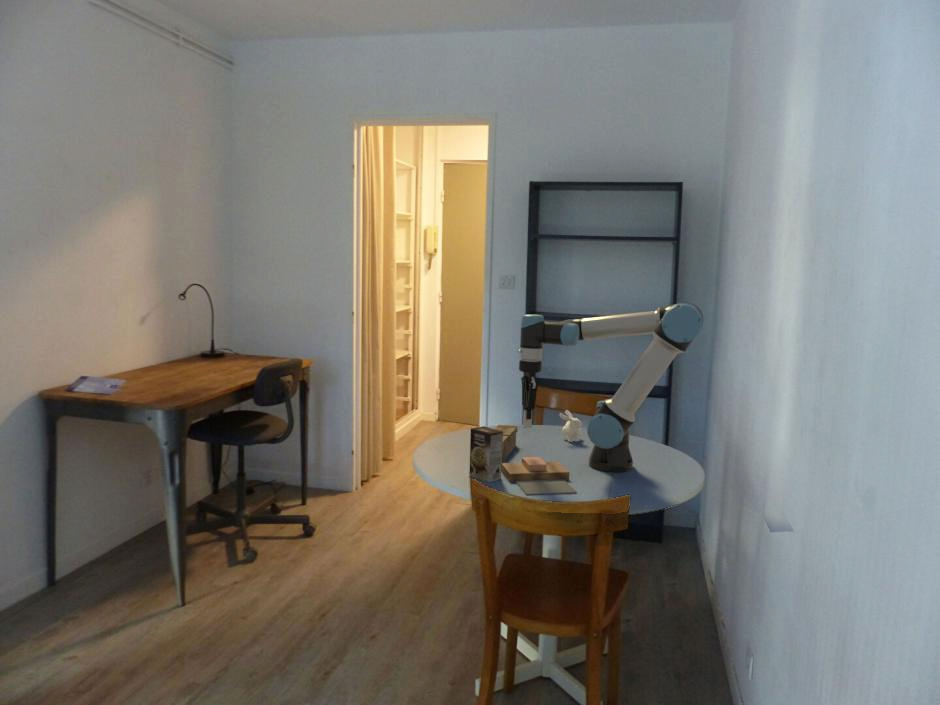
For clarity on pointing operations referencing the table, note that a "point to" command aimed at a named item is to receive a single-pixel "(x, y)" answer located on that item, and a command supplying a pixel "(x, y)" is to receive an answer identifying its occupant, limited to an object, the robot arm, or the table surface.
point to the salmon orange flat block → (534, 463)
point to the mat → (545, 487)
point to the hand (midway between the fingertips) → (527, 427)
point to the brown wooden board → (534, 472)
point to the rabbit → (571, 427)
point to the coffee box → (486, 453)
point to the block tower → (507, 439)
